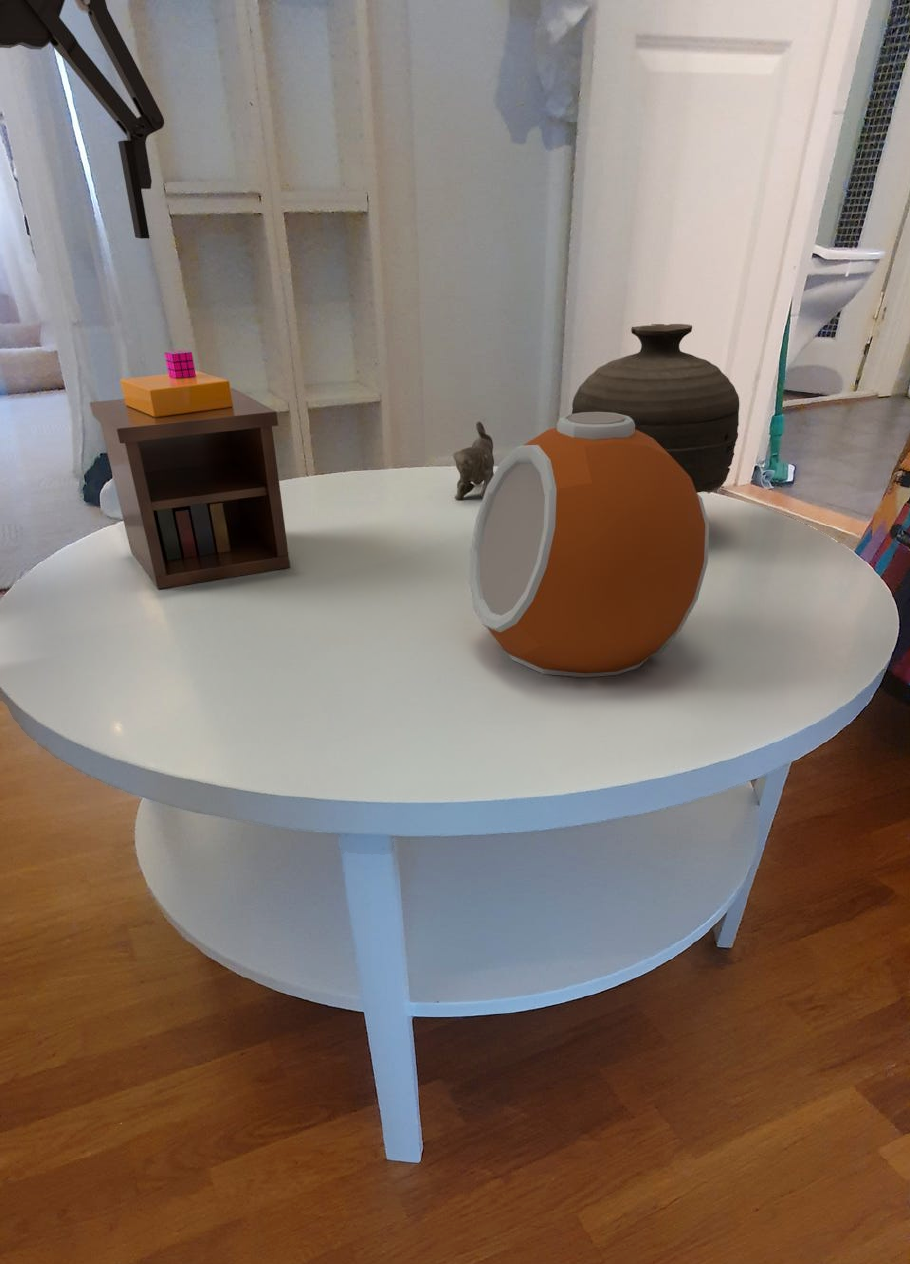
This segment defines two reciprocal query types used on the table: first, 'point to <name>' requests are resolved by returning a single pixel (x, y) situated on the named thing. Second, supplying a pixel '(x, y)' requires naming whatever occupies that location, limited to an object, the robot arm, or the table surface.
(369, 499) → the table surface
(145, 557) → the bookcase
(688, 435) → the pot
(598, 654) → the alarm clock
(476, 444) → the grey cat figurine
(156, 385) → the orange slab with cube
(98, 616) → the table surface
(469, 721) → the table surface
